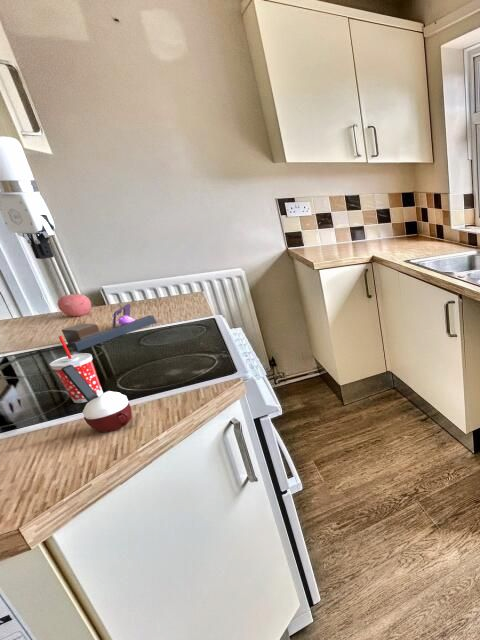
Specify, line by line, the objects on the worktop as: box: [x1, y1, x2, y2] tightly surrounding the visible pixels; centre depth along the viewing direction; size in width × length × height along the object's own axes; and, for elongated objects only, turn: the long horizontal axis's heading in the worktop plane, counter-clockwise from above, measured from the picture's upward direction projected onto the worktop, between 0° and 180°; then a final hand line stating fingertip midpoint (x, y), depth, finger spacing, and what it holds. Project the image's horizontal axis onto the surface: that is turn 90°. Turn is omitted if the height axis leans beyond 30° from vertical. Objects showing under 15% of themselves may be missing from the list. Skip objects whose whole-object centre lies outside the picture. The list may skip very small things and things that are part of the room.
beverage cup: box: [48, 335, 104, 404], centre depth 85 cm, size 6×6×14 cm
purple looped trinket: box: [111, 303, 136, 328], centre depth 126 cm, size 7×5×9 cm
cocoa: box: [61, 365, 133, 433], centre depth 76 cm, size 10×6×12 cm, turn 53°
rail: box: [70, 315, 157, 352], centre depth 120 cm, size 2×22×2 cm, turn 171°
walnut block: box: [61, 323, 100, 347], centre depth 115 cm, size 5×5×5 cm
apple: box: [57, 292, 92, 318], centre depth 137 cm, size 7×7×8 cm
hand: (45, 257), depth 117 cm, fingers closed
